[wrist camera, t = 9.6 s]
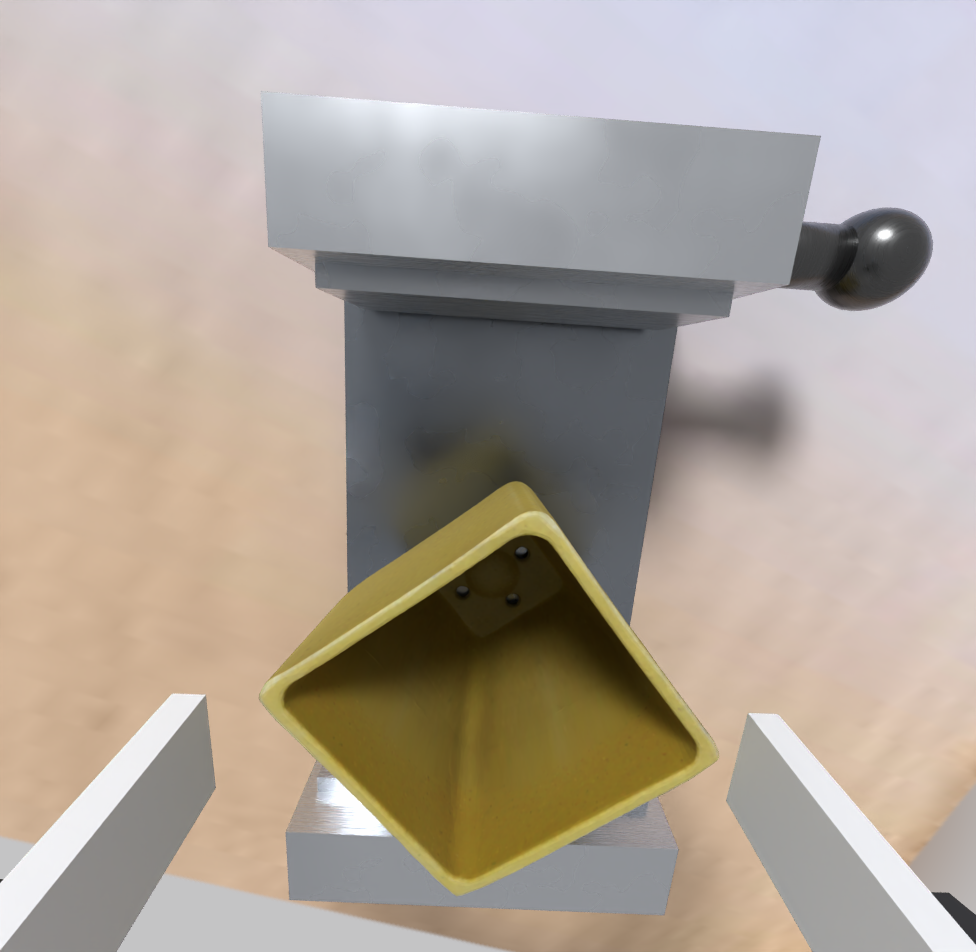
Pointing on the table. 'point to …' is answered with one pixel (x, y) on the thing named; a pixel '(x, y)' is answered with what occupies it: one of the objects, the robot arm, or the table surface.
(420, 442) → the vise base
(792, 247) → the block
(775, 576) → the table surface
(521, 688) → the flower pot
